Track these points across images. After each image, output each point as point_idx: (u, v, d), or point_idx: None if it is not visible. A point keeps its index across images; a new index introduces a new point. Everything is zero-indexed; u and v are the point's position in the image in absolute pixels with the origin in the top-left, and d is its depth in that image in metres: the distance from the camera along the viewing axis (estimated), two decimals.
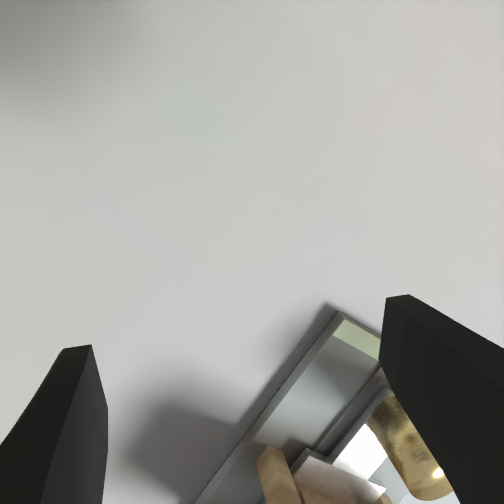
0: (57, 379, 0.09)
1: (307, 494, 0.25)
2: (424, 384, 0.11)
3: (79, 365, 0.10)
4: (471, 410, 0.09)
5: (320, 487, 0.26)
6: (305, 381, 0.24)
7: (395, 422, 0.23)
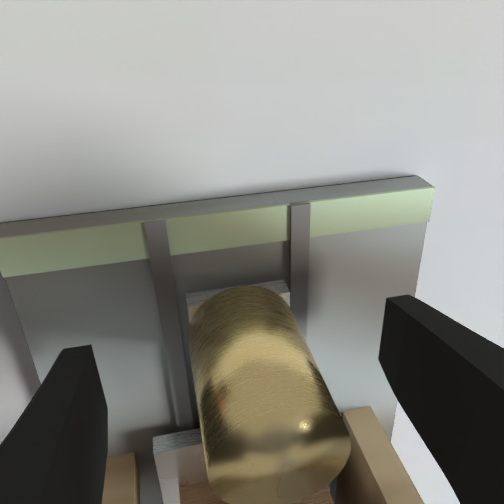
0: (57, 379, 0.09)
1: (193, 500, 0.15)
2: (424, 384, 0.11)
3: (79, 365, 0.10)
4: (471, 410, 0.09)
5: None
6: (51, 362, 0.13)
7: (194, 368, 0.11)
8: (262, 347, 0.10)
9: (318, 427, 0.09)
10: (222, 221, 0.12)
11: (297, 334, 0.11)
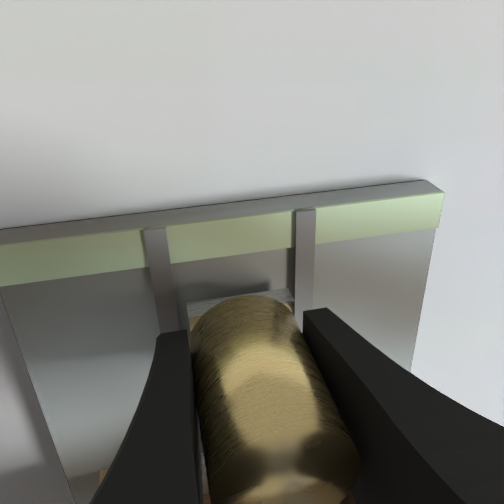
0: (167, 361, 0.10)
1: None
2: None
3: (184, 348, 0.10)
4: (366, 431, 0.09)
5: None
6: (47, 373, 0.13)
7: (196, 382, 0.10)
8: (266, 362, 0.09)
9: (327, 447, 0.08)
10: (224, 227, 0.12)
11: (303, 346, 0.10)
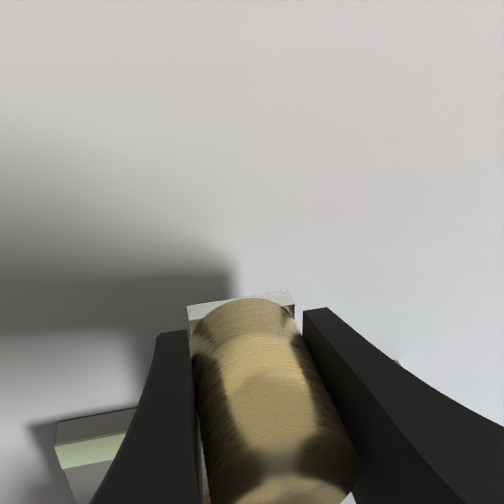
0: (167, 361, 0.10)
1: None
2: (333, 402, 0.10)
3: (184, 348, 0.10)
4: (366, 431, 0.09)
5: None
6: None
7: (196, 385, 0.10)
8: (266, 365, 0.09)
9: (326, 450, 0.08)
10: None
11: (302, 349, 0.10)
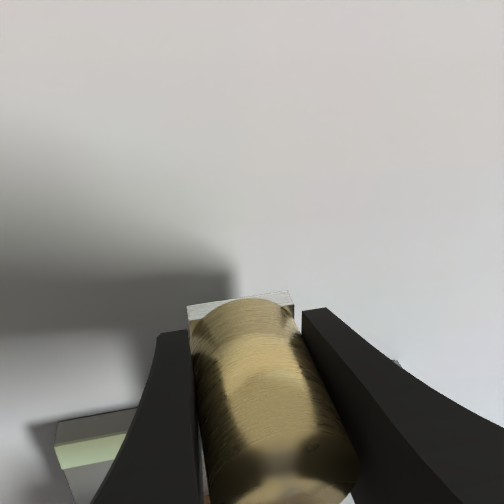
0: (168, 360, 0.10)
1: None
2: None
3: (184, 348, 0.10)
4: (365, 432, 0.09)
5: None
6: None
7: (196, 385, 0.10)
8: (266, 365, 0.09)
9: (325, 450, 0.08)
10: None
11: (302, 349, 0.10)
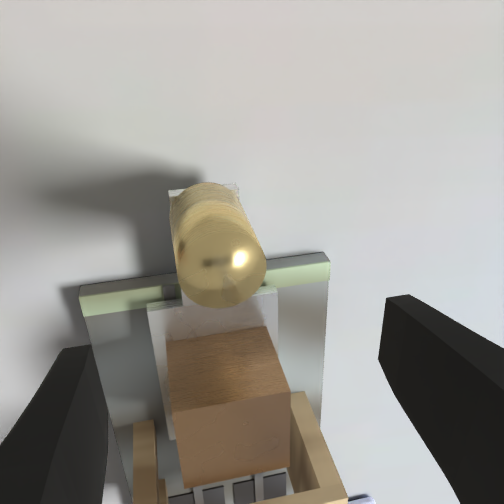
0: (57, 379, 0.09)
1: (175, 349, 0.21)
2: (425, 384, 0.11)
3: (79, 365, 0.10)
4: (471, 410, 0.09)
5: (195, 332, 0.21)
6: (106, 363, 0.22)
7: (172, 229, 0.17)
8: (213, 208, 0.16)
9: (244, 247, 0.15)
10: None
11: (239, 208, 0.17)
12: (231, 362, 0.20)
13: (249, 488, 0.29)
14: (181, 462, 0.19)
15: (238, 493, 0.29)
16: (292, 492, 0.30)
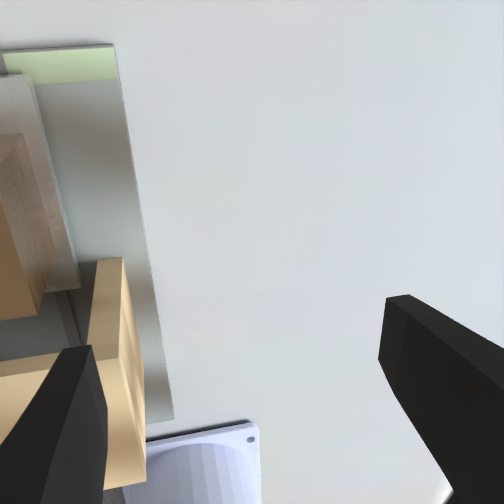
0: (57, 379, 0.09)
1: None
2: (425, 384, 0.11)
3: (79, 365, 0.10)
4: (471, 410, 0.09)
5: None
6: None
7: None
8: None
9: None
10: None
11: None
12: None
13: None
14: None
15: None
16: None
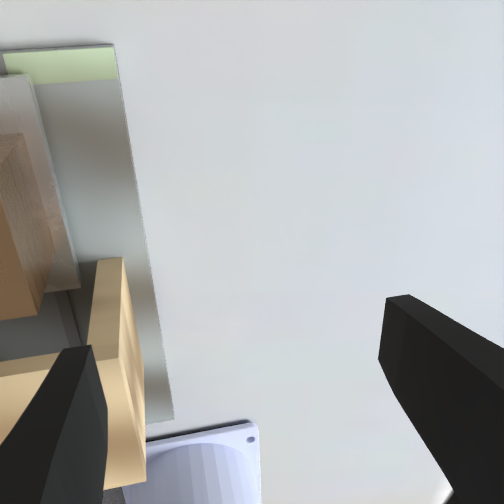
0: (57, 379, 0.09)
1: None
2: (425, 384, 0.11)
3: (79, 365, 0.10)
4: (471, 410, 0.09)
5: None
6: None
7: None
8: None
9: None
10: None
11: None
12: None
13: None
14: None
15: None
16: None
